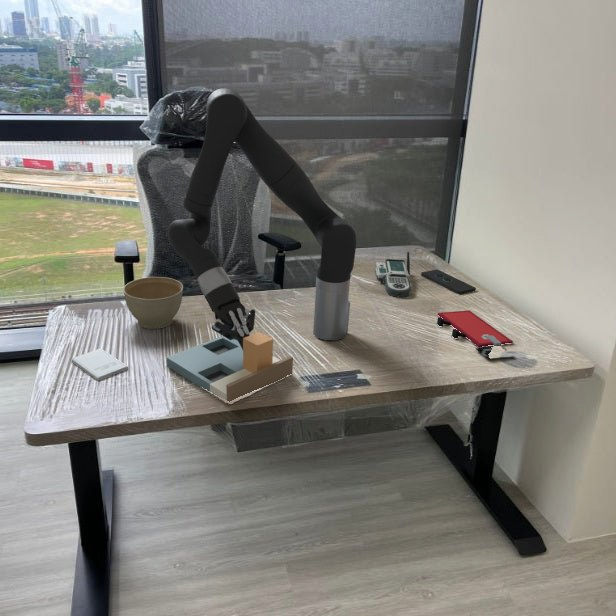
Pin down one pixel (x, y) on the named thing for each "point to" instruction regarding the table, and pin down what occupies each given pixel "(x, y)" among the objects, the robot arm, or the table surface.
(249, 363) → the orange block
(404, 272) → the communication device
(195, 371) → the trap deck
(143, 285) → the planter bowl
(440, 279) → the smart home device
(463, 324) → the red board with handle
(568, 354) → the table surface
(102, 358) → the external hard drive
